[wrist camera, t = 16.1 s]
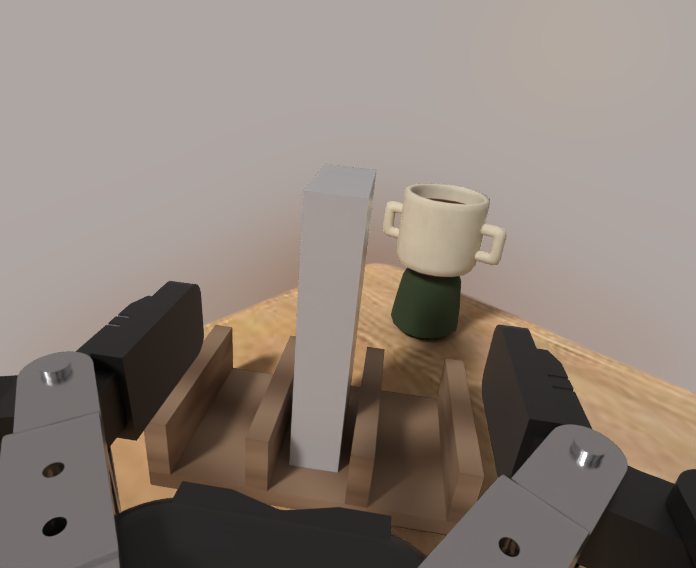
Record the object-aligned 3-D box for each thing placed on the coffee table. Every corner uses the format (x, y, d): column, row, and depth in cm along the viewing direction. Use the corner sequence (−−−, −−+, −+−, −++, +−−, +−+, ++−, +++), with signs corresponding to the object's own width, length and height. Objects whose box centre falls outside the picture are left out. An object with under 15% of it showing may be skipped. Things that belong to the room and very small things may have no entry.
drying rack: (217, 376, 35) (215, 325, 33) (451, 412, 34) (463, 360, 32) (150, 484, 26) (142, 421, 24) (465, 537, 25) (484, 476, 23)
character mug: (489, 331, 45) (523, 199, 39) (466, 365, 39) (502, 217, 34) (388, 296, 50) (406, 174, 44) (354, 322, 44) (370, 186, 38)
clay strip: (308, 398, 32) (325, 163, 25) (348, 403, 32) (376, 169, 25) (289, 465, 27) (303, 190, 20) (337, 472, 27) (368, 198, 20)
